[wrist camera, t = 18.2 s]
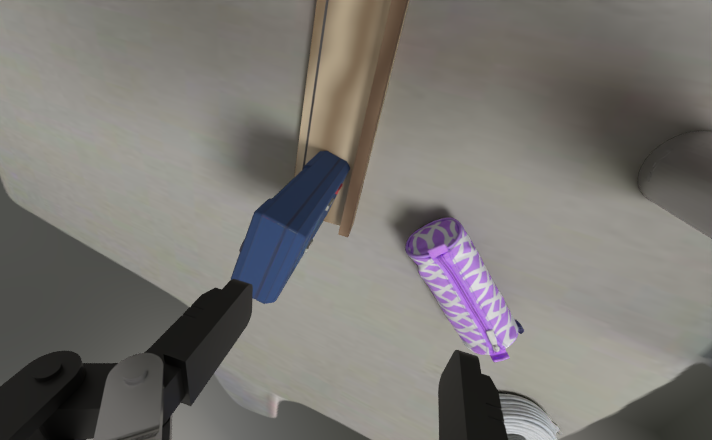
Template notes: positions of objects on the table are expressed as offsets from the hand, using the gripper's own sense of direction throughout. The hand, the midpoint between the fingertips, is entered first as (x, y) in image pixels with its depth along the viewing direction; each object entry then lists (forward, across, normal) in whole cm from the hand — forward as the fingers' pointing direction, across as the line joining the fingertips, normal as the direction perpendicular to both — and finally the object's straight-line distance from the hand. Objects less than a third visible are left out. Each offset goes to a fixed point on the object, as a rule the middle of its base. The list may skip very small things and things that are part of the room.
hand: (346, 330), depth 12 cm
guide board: (+34, +9, -1) cm, 35 cm away
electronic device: (+32, +10, +9) cm, 35 cm away
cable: (+35, -34, +50) cm, 70 cm away
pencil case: (+35, -14, +18) cm, 42 cm away
